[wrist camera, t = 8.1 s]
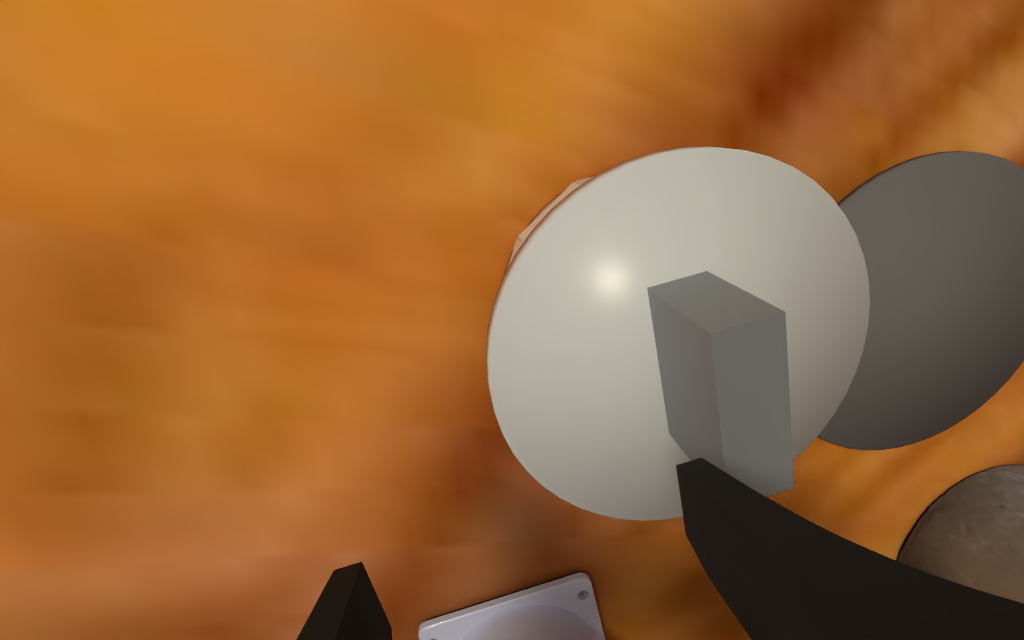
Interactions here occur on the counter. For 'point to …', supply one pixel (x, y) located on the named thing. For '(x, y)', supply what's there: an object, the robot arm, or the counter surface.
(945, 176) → the mat
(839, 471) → the counter surface
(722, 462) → the lid
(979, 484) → the pillar candle
